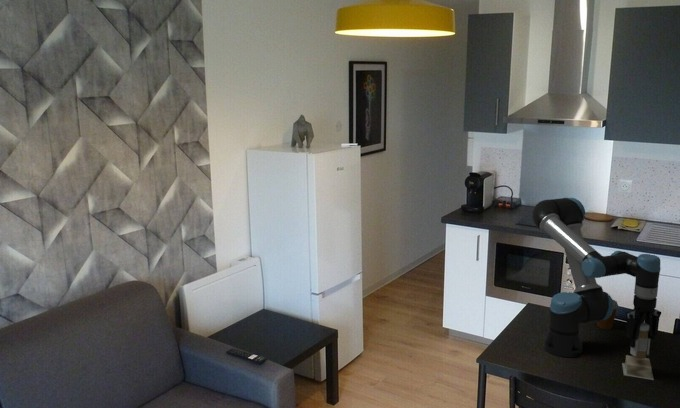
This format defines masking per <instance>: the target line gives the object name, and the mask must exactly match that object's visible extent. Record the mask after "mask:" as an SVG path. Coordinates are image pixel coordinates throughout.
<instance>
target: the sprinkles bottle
mask: <svg viewBox="0 0 680 408" xmlns="http://www.w3.org/2000/svg"><path fill="white" fill-rule="evenodd" d="M648 331H649V325H648V324H647V323H645V322H644V321H643V323H642V324H641V326H640V330H639V333H638V336H637V340H639V341H638V350H637V356H634V355H632V356H634V357H635V358H638V359H645V358H647V355H646V350H647V341H648Z"/></svg>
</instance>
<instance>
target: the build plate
mask: <svg viewBox="0 0 680 408" xmlns="http://www.w3.org/2000/svg"><path fill="white" fill-rule="evenodd" d="M621 366H622V371H623V372H622V373H623V376H626V377H632V378H640V379H645V380H649V381H650V380H651V381H654V380H655V379H654V375H653V370H652V369H651V378H647V377H640V376H634V375H628V374H626V367H625V362H622V363H621Z"/></svg>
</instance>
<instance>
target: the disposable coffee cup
mask: <svg viewBox="0 0 680 408" xmlns="http://www.w3.org/2000/svg"><path fill="white" fill-rule="evenodd" d="M612 300H613V305H614V308H613V312H612V314H611V316H610V317H609V318H608V319H606V320H602V321H599V322H596V326H597V327H598V328H601V329H602V330H611V329H613V327H614V322H615V317H616V314H617V310H618V307H619V304H618V301H617V300H614V299H613V298H612Z"/></svg>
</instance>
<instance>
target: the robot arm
mask: <svg viewBox="0 0 680 408" xmlns="http://www.w3.org/2000/svg"><path fill="white" fill-rule="evenodd" d="M585 216H586V209H585V206H584V205H583V204H582V202H581V201H580V200H578V199H577V198H575V197H561V198H552V199H543V200H541V201H539V202H538V203H537V204H536V205H535V206H534V207H533V210H532V213H531V218H532V219H531V220H532V223H533V224H534V225H535V226H536V228H537V229H538V230H539V231H540V232H541V233H543V234H547V235H548V236H550V238H552V240H554V241H555V242H556V243H557V244H559V245H560V246H561V247H562V248H563V249H564V253H565V256H566V260H567V262H568V263H567V264H568V266H569V270H570V274H571V277H572V280H573V284H574V290H573V292H571V291H570V292H567V291H563V292H558V293H556V294H554V295H553V296H552V297H551V301H550V304H549V305H550V306H549V309H550V310H549V323H548V325H549V327H548V331H547V332H546V335H545V338H544V339H543V349H544V350H545V351H546V352H548V353H550V354H551V355H553V356H558V357H563V358H574V357H575V358H576V357H578V356H580V355H581V353H582V352H583V343H582V341H581V340H582V339H581V337H580V326H581V325H585V324H591V323H597V322H599V321H602V320H606V319H608V318H609V317H610V316H611V314H612V312H613V308H614V305H613V300H614V299H613V297H612V296H611V295H610V294H609V293H608V292H606V291H604V290H603V287H602V285H600V284H598V282H597V280H596V279H598V278H599V279H600V278H604V277H610V276H618V275H624V274H626V275H629V276H631V277H634V278H635V281H634V289H633V291H634V292H633V293H634V295H633V300H632V301H633V302H632V304H633V308H632V311H631V312H625V316H626V326H625V328H626V329H625V337H627V338H628V339H629V347H630V354H631V356H633V355H634V356H637V350H638V341H639V340H637V336H638V333H639V330H640V326H641V324H642V323H643V322H645V323H647V324H648V325H649V331H648V341H647V350H646V356H649V355H650V347H651V346H652V341H653V340H654V339H655V337H657V336H658V333H659V324H660V318H661V315H662V311H660V310H658V309H656V308H657V300H658V298H657V297H658V291H659V290H658V289H659V280H660V273H661V268H662V267H661V258H660V257H659V256H657V255H655V254H649V253H641V254H638V256H636V255H634V254H631V253H629V252H627V251H622V250H615V251H614V252H613V253H611V254H610V255H602V254H601V253H599V252H598V250H596V249H595V248H594V247H592V245H590V244H589V243H588V242H587V241H586V240H584V237H583V234H582V227H583V226H584V223H583V221H584V220H585ZM612 299H613V300H612Z"/></svg>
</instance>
